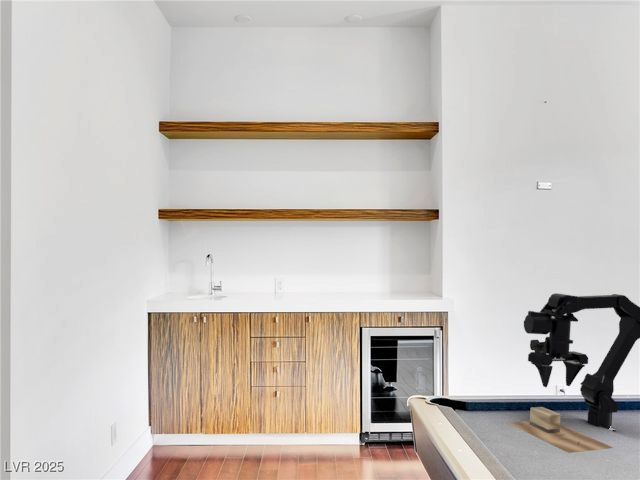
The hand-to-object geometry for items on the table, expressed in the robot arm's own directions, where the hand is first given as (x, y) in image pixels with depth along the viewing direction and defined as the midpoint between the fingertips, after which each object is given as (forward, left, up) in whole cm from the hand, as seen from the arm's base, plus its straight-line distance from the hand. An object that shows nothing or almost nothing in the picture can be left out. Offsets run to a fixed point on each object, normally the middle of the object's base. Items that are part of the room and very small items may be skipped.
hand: (556, 386), depth 154 cm
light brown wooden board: (+8, +9, -12) cm, 17 cm away
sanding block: (+8, +4, -11) cm, 14 cm away
